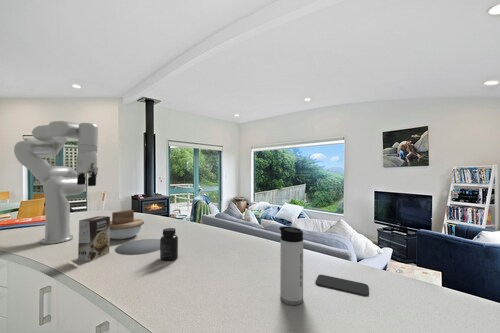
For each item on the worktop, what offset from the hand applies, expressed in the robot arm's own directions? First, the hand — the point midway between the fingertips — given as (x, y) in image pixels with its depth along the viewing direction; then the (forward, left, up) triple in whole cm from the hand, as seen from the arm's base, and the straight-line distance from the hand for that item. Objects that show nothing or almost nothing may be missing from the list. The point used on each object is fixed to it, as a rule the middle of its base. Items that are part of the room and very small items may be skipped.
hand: (86, 185), depth 109 cm
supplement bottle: (+47, +11, -29) cm, 56 cm away
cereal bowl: (+3, +16, -29) cm, 33 cm away
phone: (+109, +28, -29) cm, 117 cm away
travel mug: (+99, +12, -29) cm, 104 cm away
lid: (+3, +16, -21) cm, 27 cm away
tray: (+25, +13, -28) cm, 40 cm away
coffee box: (+21, -5, -29) cm, 36 cm away
